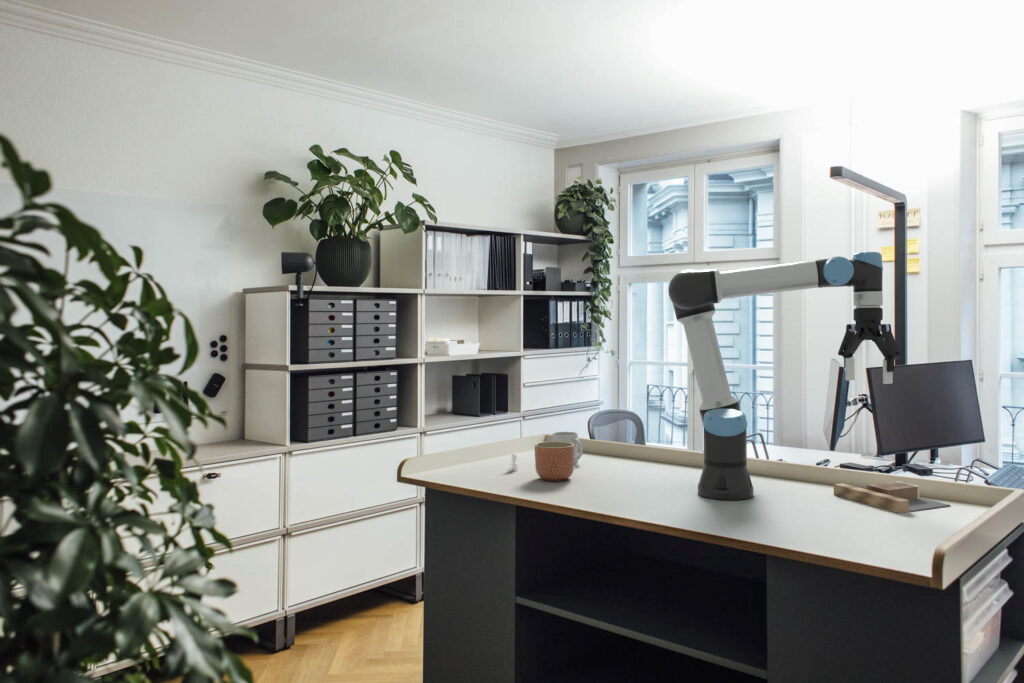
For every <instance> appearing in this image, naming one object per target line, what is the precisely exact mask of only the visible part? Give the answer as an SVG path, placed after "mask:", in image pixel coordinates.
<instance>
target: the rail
mask: <svg viewBox="0 0 1024 683" xmlns="http://www.w3.org/2000/svg"><path fill="white" fill-rule="evenodd" d="M833 495H834V496H837V497H839V498H840V497H841V498H844V499H847V500H850V501H855V502H859V503H862V504H865V505H869V506H872V507H877V508H879V509H883V510H887V511H891V512H894V513H898V514H904V513H905V514H906V513H909V500H906V499H902V498H898V497H894V496H890V495H887V494H883V493H879V492H875V491H871V490H867V488H863V487H859V486H855V485H851V484H847V483H843V482H841V483H834V484H833Z"/></svg>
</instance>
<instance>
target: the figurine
mask: <svg viewBox="0 0 1024 683" xmlns="http://www.w3.org/2000/svg"><path fill="white" fill-rule="evenodd" d="M517 459H518V458H517V454H516V453H512V454H511V462H510V465H511V467H510V468H507V469H506V471H507V472H508V473H509V472H518V471H519V468H518V464H517Z"/></svg>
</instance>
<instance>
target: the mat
mask: <svg viewBox="0 0 1024 683" xmlns="http://www.w3.org/2000/svg"><path fill="white" fill-rule="evenodd" d="M945 507H951V504H948V503H944V502H941V501H935V500H932V499H928V498H924V497H920V499H917V500H910V501H909V512H918V511H926V510H931V509H938V508H945ZM909 512H908V513H909Z"/></svg>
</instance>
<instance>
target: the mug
mask: <svg viewBox="0 0 1024 683" xmlns="http://www.w3.org/2000/svg"><path fill="white" fill-rule="evenodd" d="M578 435H579V434H578V432H575V431H574V432H573V431H556V432H552V437H551V439H552V440H551V441H561V442H570V443H573V444H574V465H575V464H577V463H579V460H580V459H581V458H582V456H583V452H584V451H583V450H584V448H583V443H582V442H581V440H580V439H579V436H578Z"/></svg>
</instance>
